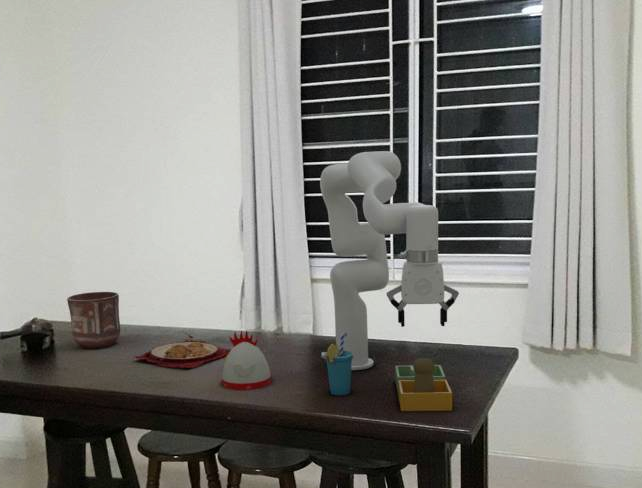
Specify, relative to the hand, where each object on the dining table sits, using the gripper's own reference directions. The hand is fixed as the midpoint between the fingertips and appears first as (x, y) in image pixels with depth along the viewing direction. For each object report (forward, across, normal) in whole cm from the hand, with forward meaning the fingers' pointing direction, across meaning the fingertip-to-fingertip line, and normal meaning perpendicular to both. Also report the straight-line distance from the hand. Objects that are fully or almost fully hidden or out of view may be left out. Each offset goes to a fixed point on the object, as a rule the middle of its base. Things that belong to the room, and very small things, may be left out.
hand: (422, 325), depth 188 cm
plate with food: (+22, -72, +50) cm, 90 cm away
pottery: (+23, -109, +69) cm, 131 cm away
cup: (+21, -21, +10) cm, 31 cm away
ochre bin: (+20, 0, -1) cm, 20 cm away
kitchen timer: (+21, -48, +20) cm, 56 cm away
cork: (+20, 0, -1) cm, 20 cm away
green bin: (+20, 0, +13) cm, 24 cm away
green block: (+20, 0, +13) cm, 24 cm away
